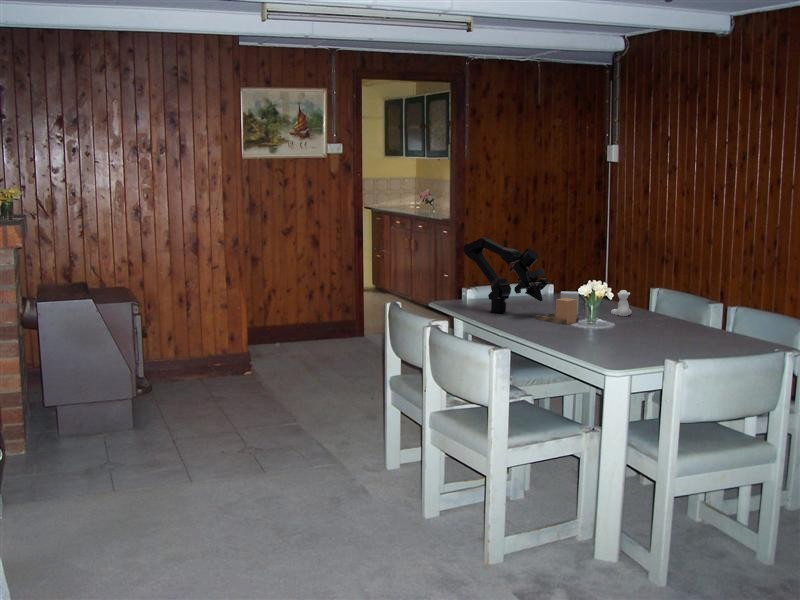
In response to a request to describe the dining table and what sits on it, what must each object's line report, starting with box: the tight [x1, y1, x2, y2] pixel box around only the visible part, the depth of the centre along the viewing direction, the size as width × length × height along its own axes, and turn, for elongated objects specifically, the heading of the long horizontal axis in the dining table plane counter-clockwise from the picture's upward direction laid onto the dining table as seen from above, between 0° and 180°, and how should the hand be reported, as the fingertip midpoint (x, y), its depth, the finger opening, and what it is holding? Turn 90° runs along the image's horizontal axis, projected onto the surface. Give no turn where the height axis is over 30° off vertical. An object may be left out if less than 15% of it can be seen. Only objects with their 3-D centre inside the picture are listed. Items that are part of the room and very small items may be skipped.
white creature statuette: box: [610, 289, 632, 317], centre depth 404 cm, size 10×9×12 cm
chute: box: [535, 312, 580, 326], centre depth 383 cm, size 18×10×3 cm, turn 43°
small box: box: [559, 290, 580, 315], centre depth 404 cm, size 8×6×10 cm
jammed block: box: [555, 298, 578, 325], centre depth 380 cm, size 6×7×10 cm
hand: (541, 300), depth 389 cm, fingers closed
